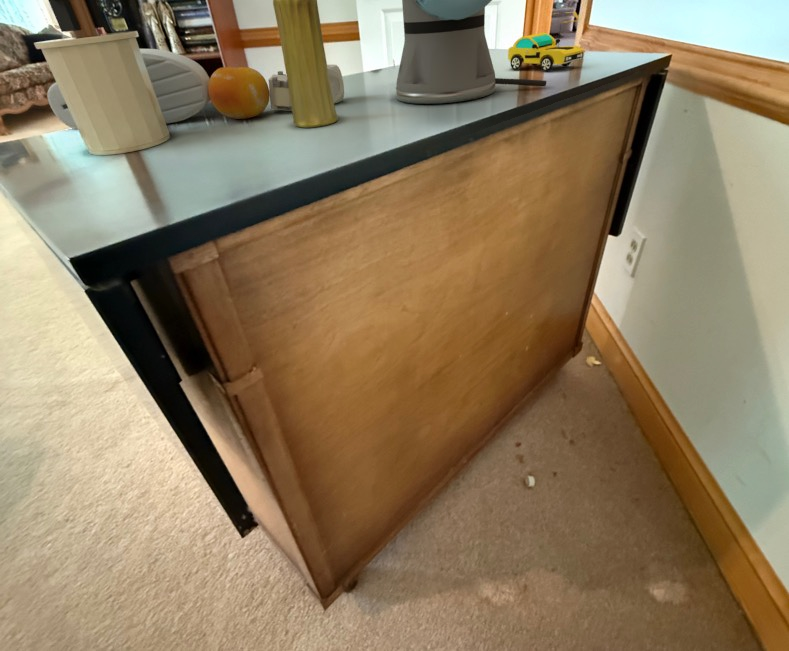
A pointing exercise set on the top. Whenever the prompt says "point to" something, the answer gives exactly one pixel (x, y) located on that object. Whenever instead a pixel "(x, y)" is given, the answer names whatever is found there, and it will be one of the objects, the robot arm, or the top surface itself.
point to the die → (336, 83)
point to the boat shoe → (159, 87)
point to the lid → (85, 30)
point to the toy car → (543, 51)
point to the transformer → (279, 92)
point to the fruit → (238, 92)
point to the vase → (305, 62)
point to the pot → (109, 95)
